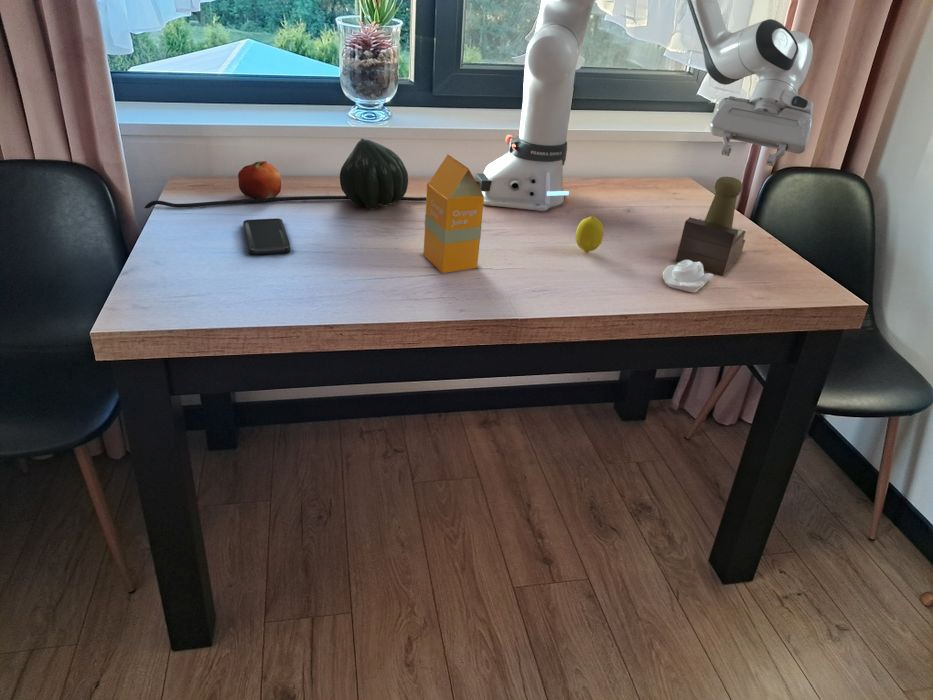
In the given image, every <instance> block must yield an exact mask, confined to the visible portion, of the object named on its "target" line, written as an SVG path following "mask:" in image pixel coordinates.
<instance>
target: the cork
mask: <svg viewBox="0 0 933 700" xmlns="http://www.w3.org/2000/svg"><path fill="white" fill-rule="evenodd" d="M742 189H743V183H742V181H741V180H740V179H738V178H736V177H732V176H721V177H719V178H717V179H716V181H715V183H714V191H715V194H714V196H713V199H712V202H711V204H710V206H709V209H708V211H707V213H706V216H705V218H704V220H705V221H706V222H710V223H714V224H717V225H721V226H725V227H729V228H732V227H733V225H734V217H735V210H736V203H737V197H738V196H739V195H740V194H741V192H742Z"/></svg>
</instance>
